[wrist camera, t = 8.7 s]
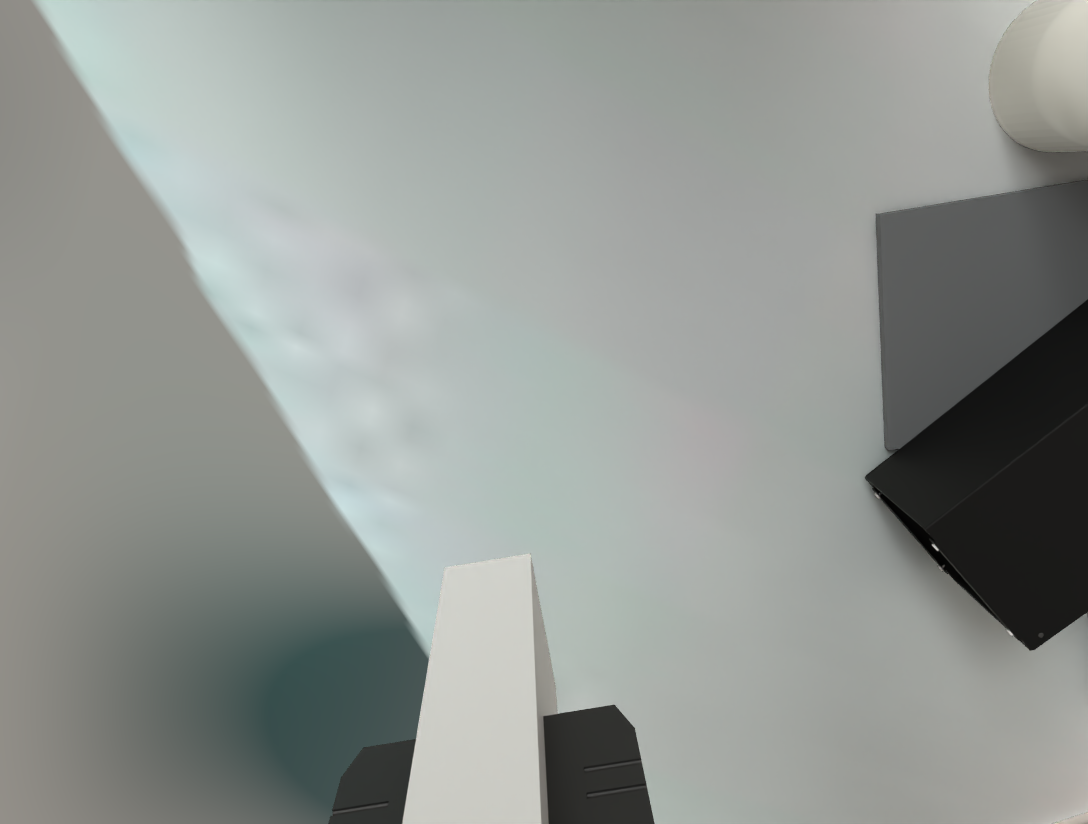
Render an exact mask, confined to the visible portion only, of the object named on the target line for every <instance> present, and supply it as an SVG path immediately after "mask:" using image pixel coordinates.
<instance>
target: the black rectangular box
mask: <svg viewBox="0 0 1088 824" xmlns="http://www.w3.org/2000/svg"><path fill="white" fill-rule="evenodd" d="M865 479H866V480H867V481H868V482H869V483H870V485H872V487H873V490H874V492H875V495H876V497H877V498H878V499H880V498H881V500H882V501H883V502H884V503H885V504H886V505H887V506H888V508H889V509H890V510H891V511H892V512H893V513H894V514H895V516H896V517H897V518H898V519H899V520H900V521H901V522H902V524H903V525H904V526H905V527H906V528H907V529H908V530H909V532H910V533H911V534H912V535H913V536H914V537H915V538H916V540H917V541H918V542H919V543H920V544H921V545H922V546H923V548H924V549H925V550H926V551H927V552H928V553H929V554H930V556H931V557H932V558H933V559H934V560H935V561H936V562H937V564H938V567H939V568H940V570H941V571H942V572H943V570H944V572H945V573H947V574H949V575H950V576H951V577H952V578H953V579H954V580H955V581H956V582H957V583H958V584H959V585H960V586H961V587H962V588H963V589H964V590H966V592H967V593H969V594H970V595H971V596H972V597H973V598H974V599H975V600H976V601H977V602H978V603H980V605H981V606H983V607H984V608H985V609H986V610H987V611H988V612H989V613H990V614H991V615H992V616H994V618H995V619H997V620H998V621H999V622H1000V623H1001V624H1002V625H1003V626H1004V627H1005V628H1007V629H1006V631H1007V632H1008V633H1009V634H1010V635H1011V636H1012V637H1013V636H1014V637H1015V638H1017V639H1018V640H1019V641H1021V642H1022V644H1024V645H1025V646H1026V647H1027V648H1028V649H1029V650H1030V651H1031V650H1035V649H1036V648H1038V647H1039V646H1040V645H1042V644H1043V643H1045V642H1046V641H1047V640H1049V639H1050V638H1052V637H1053V636H1054V635H1056V634H1057V633H1059V632H1060V631H1061V630H1063V629H1064V628H1066V627H1067V626H1068V625H1070V624H1071V623H1073V622H1074V621H1075V620H1077V619H1078V618H1079V617H1081V616H1082V615H1084V614H1085V613H1086V612H1088V300H1086V301H1085V302H1084V303H1082V304H1081V305H1080V306H1079V307H1077V308H1076V309H1075V310H1074V311H1072V312H1071V313H1070V314H1069V315H1067V316H1066V317H1065V318H1064V319H1062V320H1061V321H1060V322H1059V323H1057V324H1056V325H1055V326H1054V327H1052V328H1051V329H1050V330H1049V331H1047V332H1046V333H1045V334H1043V335H1042V336H1041V337H1040V338H1038V339H1037V340H1036V341H1035V342H1033V343H1032V344H1031V345H1030V346H1028V347H1027V348H1026V349H1025V350H1023V351H1022V352H1021V353H1020V354H1018V355H1017V356H1016V357H1015V358H1013V359H1012V360H1011V361H1010V362H1008V363H1007V364H1006V365H1005V366H1003V367H1002V368H1001V369H999V370H998V371H997V372H996V373H994V374H993V375H992V376H991V377H989V378H988V379H987V380H986V381H984V382H983V383H982V384H981V385H979V386H978V387H977V388H976V389H974V390H973V391H972V392H971V393H969V394H968V395H967V396H966V397H964V398H963V399H962V400H960V401H959V402H958V403H957V404H955V405H954V406H953V407H952V408H950V409H949V410H948V411H947V412H945V413H944V414H943V415H942V416H940V417H939V418H938V419H937V420H935V421H934V422H933V423H932V424H930V425H929V426H928V427H927V428H925V429H924V430H923V431H921V432H920V433H919V434H918V435H916V436H915V437H914V438H913V439H911V440H910V441H909V442H908V443H906V444H905V445H904V446H903V447H901V448H900V449H899V450H898V451H896V452H895V453H894V454H893V455H891V456H890V457H889V458H888V459H886V460H885V461H884V462H882V463H881V464H880V465H879V466H877V467H876V468H875V469H874V470H872V471H871V472H870V473H869V474H867V475H866V477H865Z"/></svg>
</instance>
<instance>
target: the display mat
mask: <svg viewBox="0 0 1088 824" xmlns="http://www.w3.org/2000/svg"><path fill="white" fill-rule="evenodd" d="M876 230H877V257H878V283H879V309H880V335H881V361H882V387H883V414H884V440H885V448H887V449H888V450H894V449H900V448H901V447H903V446H904V445H905V444H906V443H908V442H909V441H910V440H911V439H913V438H914V437H915V436H916V435H918V434H919V433H920V432H921V431H923V430H924V429H925V428H927V427H928V426H929V425H930V424H932V423H933V422H934V421H935V420H937V419H938V418H939V417H940V416H942V415H943V414H944V413H945V412H947V411H948V410H949V409H950V408H952V407H953V406H954V405H955V404H957V403H958V402H959V401H960V400H962V399H963V398H964V397H966V396H967V395H968V394H969V393H971V392H972V391H973V390H974V389H976V388H977V387H978V386H979V385H981V384H982V383H983V382H984V381H986V380H987V379H988V378H989V377H991V376H992V375H993V374H994V373H996V372H997V371H998V370H999V369H1001V368H1002V367H1003V366H1005V365H1006V364H1007V363H1008V362H1010V361H1011V360H1012V359H1013V358H1015V357H1016V356H1017V355H1018V354H1020V353H1021V352H1022V351H1023V350H1025V349H1026V348H1027V347H1028V346H1030V345H1031V344H1032V343H1033V342H1035V341H1036V340H1037V339H1038V338H1040V337H1041V336H1042V335H1043V334H1045V333H1046V332H1047V331H1049V330H1050V329H1051V328H1052V327H1054V326H1055V325H1056V324H1057V323H1059V322H1060V321H1061V320H1062V319H1064V318H1065V317H1066V316H1067V315H1069V314H1070V313H1071V312H1072V311H1074V310H1075V309H1076V308H1077V307H1079V306H1080V305H1081V304H1082V303H1084V302H1085V301H1086V300H1088V180H1082V181H1076V182H1070V183H1064V184H1058V185H1052V186H1045V187H1039V188H1033V189H1027V190H1021V191H1015V192H1009V193H1003V194H997V195H991V196H984V197H978V198H972V199H966V200H960V201H954V202H948V203H942V204H936V205H930V206H924V207H917V208H911V209H905V210H899V211H893V212H887V213H881V214H876Z"/></svg>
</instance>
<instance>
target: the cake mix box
mask: <svg viewBox="0 0 1088 824" xmlns="http://www.w3.org/2000/svg"><path fill="white" fill-rule="evenodd" d="M1052 824H1088V812H1085V813H1082V814H1079V815H1076V816H1073V817H1070V818H1067V819H1064V820H1061V821H1058V822H1055V823H1052Z"/></svg>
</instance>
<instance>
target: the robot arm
mask: <svg viewBox="0 0 1088 824" xmlns="http://www.w3.org/2000/svg"><path fill="white" fill-rule="evenodd" d="M332 811H333V816H331V817H330V820H329V824H654V819H653V815H652V810H651V805H650V800H649V795H648V790H647V786H646V781H645V776H644V771H643V766H642V762H641V756H640V752H639V747H638V742H637V737H636V732H635V728H634V727H633V726H632V724H631V723H630V722H629V721H628V720H627V719H626V718H625V716H624V715H623V714H622V713H621V712H620V711H619V709H618V708H617V707H616V706H615V705H610V706H604V707H597V708H591V709H585V710H579V711H572V712H566V713H560V714H558V712H557V698H556V686H555V680H554V675H553V670H552V664H551V659H550V654H549V649H548V643H547V638H546V633H545V628H544V622H543V617H542V612H541V606H540V601H539V596H538V591H537V585H536V580H535V575H534V570H533V564H532V559H531V554H524V555H517V556H511V557H505V558H499V559H493V560H487V561H481V562H475V563H469V564H463V565H456V566H450V567H444V573H443V579H442V585H441V591H440V597H439V603H438V609H437V616H436V622H435V628H434V634H433V640H432V646H431V652H430V658H429V664H428V671H427V676H426V683H425V688H424V694H423V700H422V707H421V713H420V719H419V725H418V731H417V737H416V739H414V740H407V741H402V742H395V743H389V744H382V745H376V746H370V747H364V748H363V749H362V750H361V751H360V753H359V754H358V756H357V757H356V758H355V760H354V761H353V762H352V764H351V765H350V766H349V768H348V769H347V771H346V772H345V773H344V774H343V776H342V777H341V780H340V783H339V787H338V791H337V794H336V798H335V802H334V806H333V809H332Z"/></svg>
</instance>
